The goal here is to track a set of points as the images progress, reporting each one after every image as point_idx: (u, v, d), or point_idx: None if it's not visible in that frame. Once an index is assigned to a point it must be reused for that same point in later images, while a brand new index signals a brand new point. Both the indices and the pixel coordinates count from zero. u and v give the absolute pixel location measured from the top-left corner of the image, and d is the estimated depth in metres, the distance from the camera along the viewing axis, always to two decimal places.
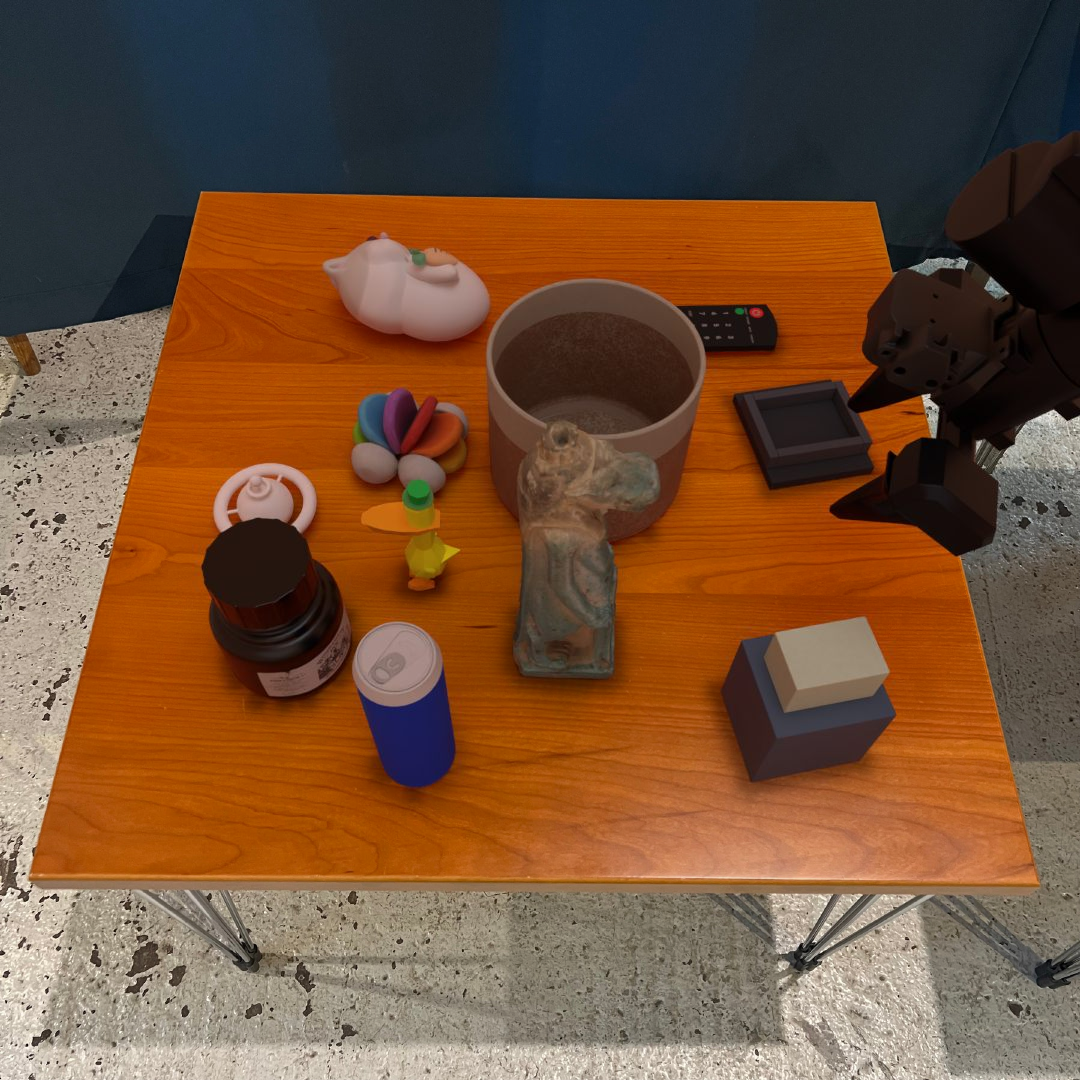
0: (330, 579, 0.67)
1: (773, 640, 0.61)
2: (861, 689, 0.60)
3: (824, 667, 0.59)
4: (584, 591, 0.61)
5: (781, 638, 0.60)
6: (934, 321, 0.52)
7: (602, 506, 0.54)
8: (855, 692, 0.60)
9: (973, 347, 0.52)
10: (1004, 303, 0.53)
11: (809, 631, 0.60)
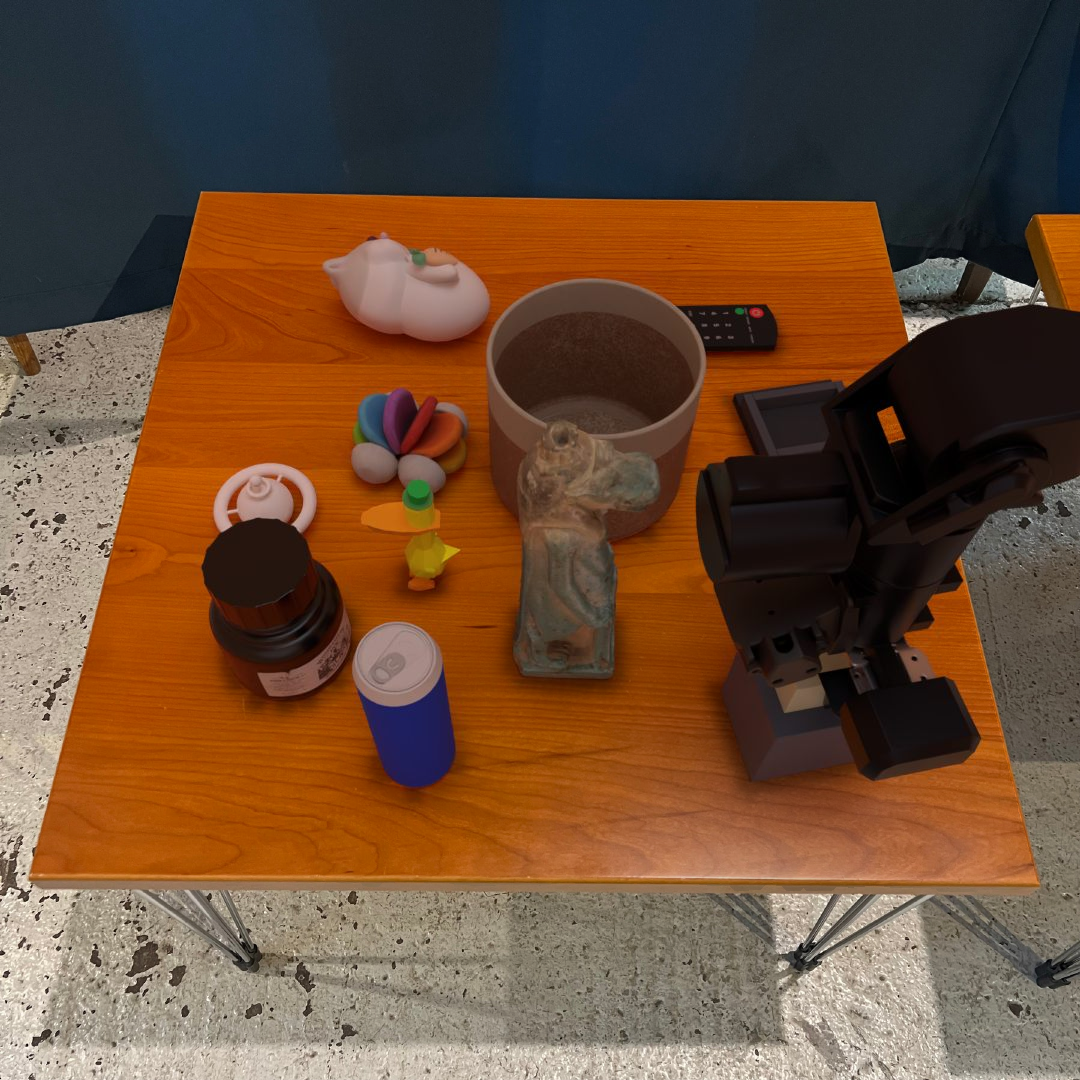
0: (330, 579, 0.67)
1: None
2: None
3: (824, 667, 0.59)
4: (584, 591, 0.61)
5: None
6: (773, 610, 0.51)
7: (602, 506, 0.54)
8: None
9: (821, 609, 0.50)
10: None
11: None
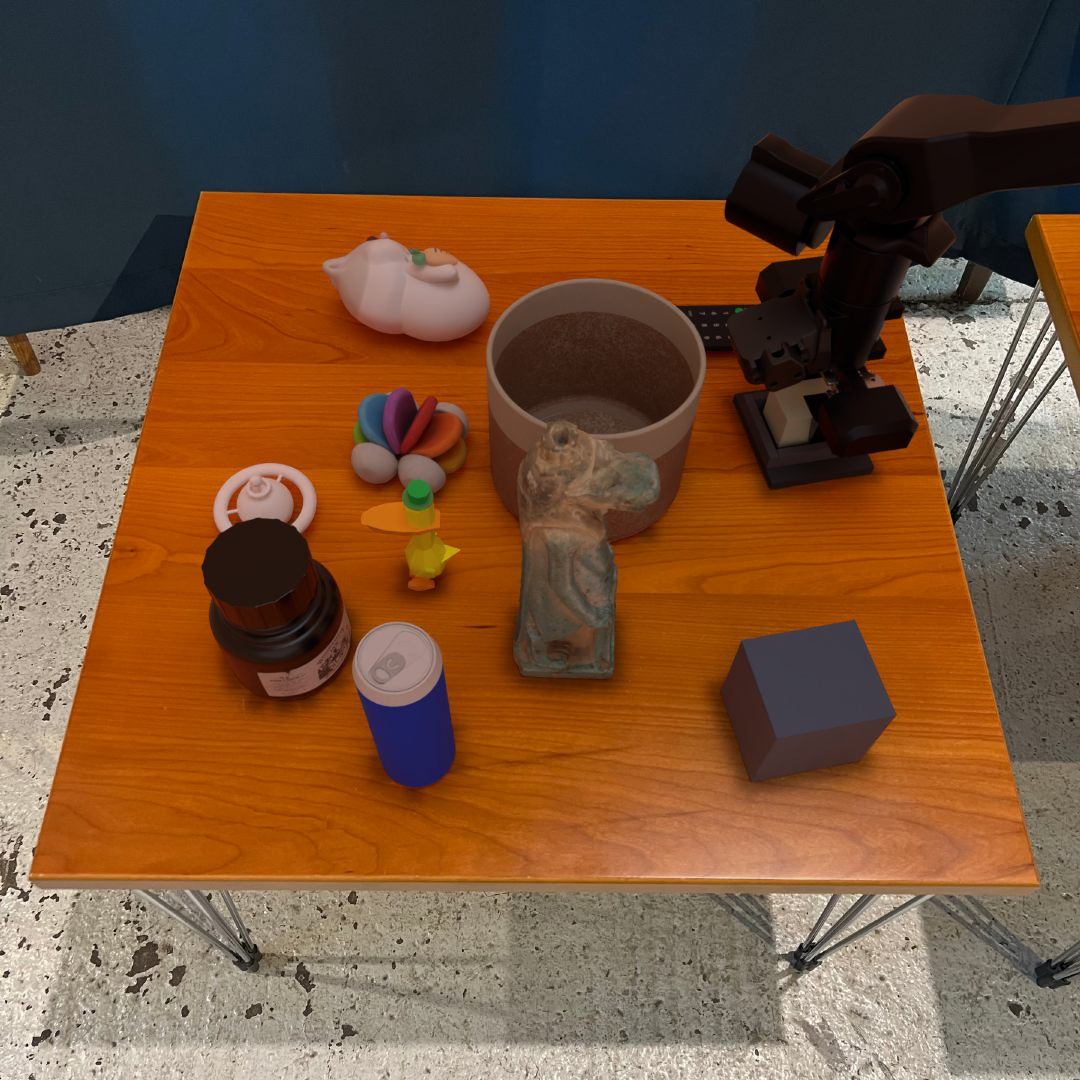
0: (330, 579, 0.67)
1: (770, 392, 0.81)
2: None
3: None
4: (584, 591, 0.61)
5: None
6: (770, 336, 0.71)
7: (602, 506, 0.54)
8: None
9: (804, 332, 0.70)
10: (803, 287, 0.71)
11: (797, 384, 0.80)
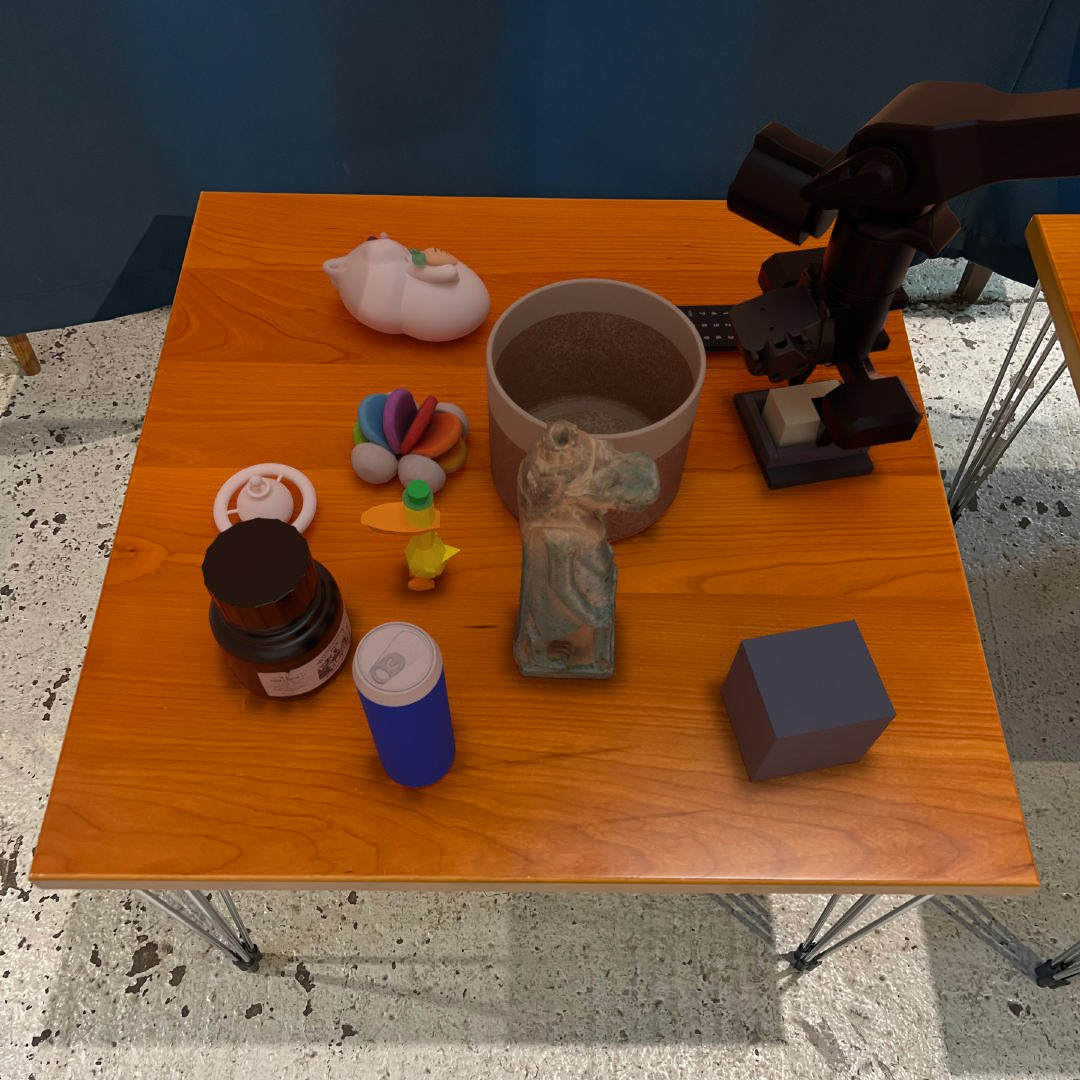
0: (330, 579, 0.67)
1: (768, 396, 0.81)
2: None
3: (806, 411, 0.79)
4: (584, 591, 0.61)
5: (774, 393, 0.80)
6: (773, 327, 0.70)
7: (602, 506, 0.54)
8: None
9: (807, 323, 0.69)
10: (806, 277, 0.70)
11: (795, 388, 0.81)
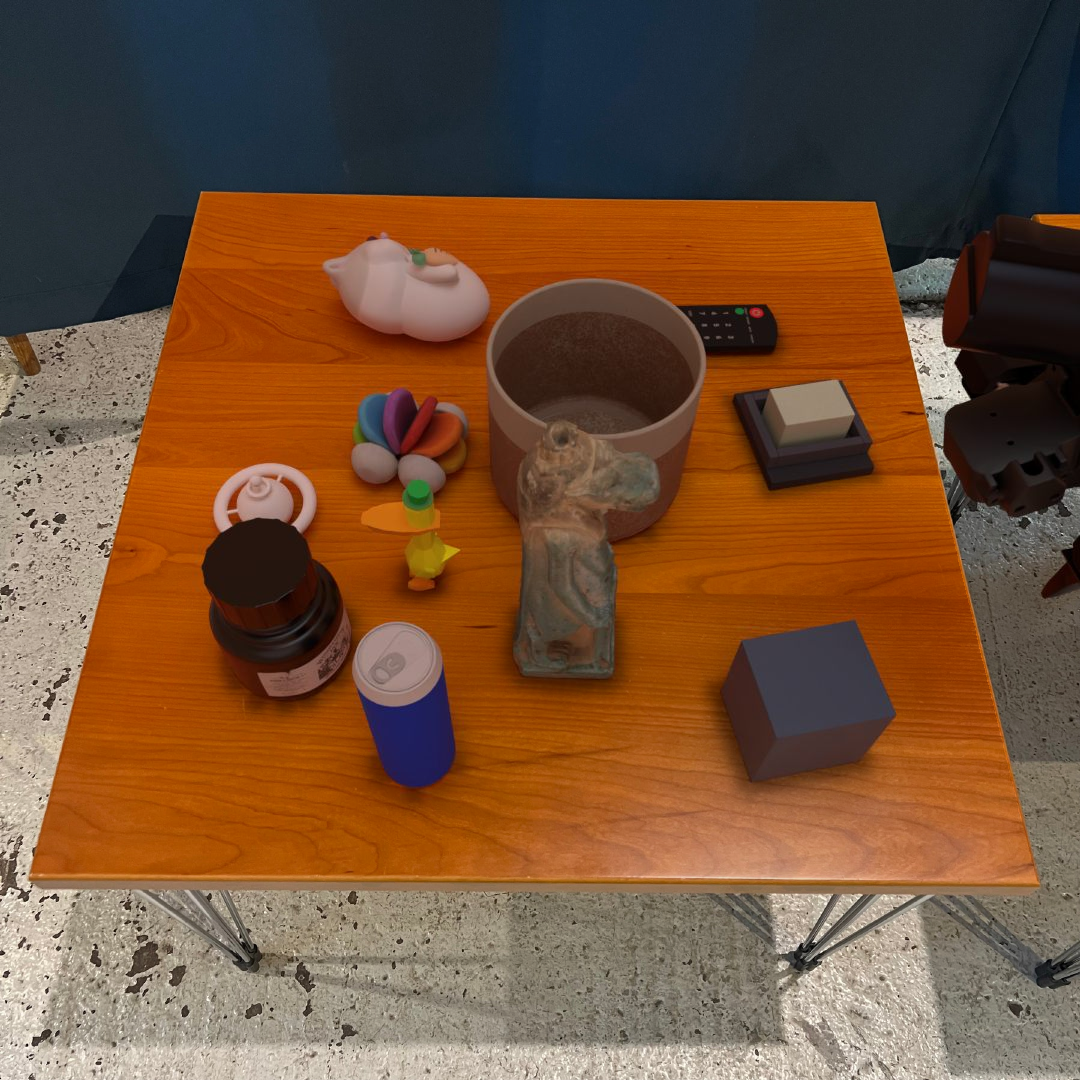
0: (330, 579, 0.67)
1: (768, 396, 0.81)
2: (834, 431, 0.81)
3: (806, 411, 0.79)
4: (584, 591, 0.61)
5: (774, 393, 0.80)
6: (1012, 441, 0.51)
7: (602, 506, 0.54)
8: (829, 434, 0.81)
9: (1064, 437, 0.50)
10: (1056, 372, 0.51)
11: (795, 388, 0.81)
